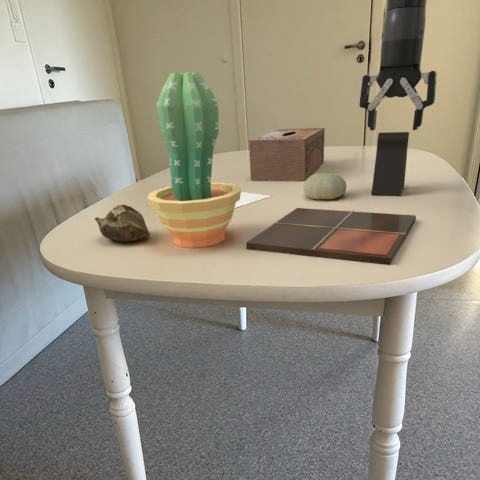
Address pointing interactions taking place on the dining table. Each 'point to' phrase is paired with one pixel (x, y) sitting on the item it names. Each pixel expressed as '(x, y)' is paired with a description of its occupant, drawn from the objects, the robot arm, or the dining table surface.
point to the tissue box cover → (287, 154)
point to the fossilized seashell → (123, 224)
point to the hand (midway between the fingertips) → (393, 129)
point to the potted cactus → (192, 165)
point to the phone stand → (390, 163)
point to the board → (336, 235)
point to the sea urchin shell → (324, 186)
